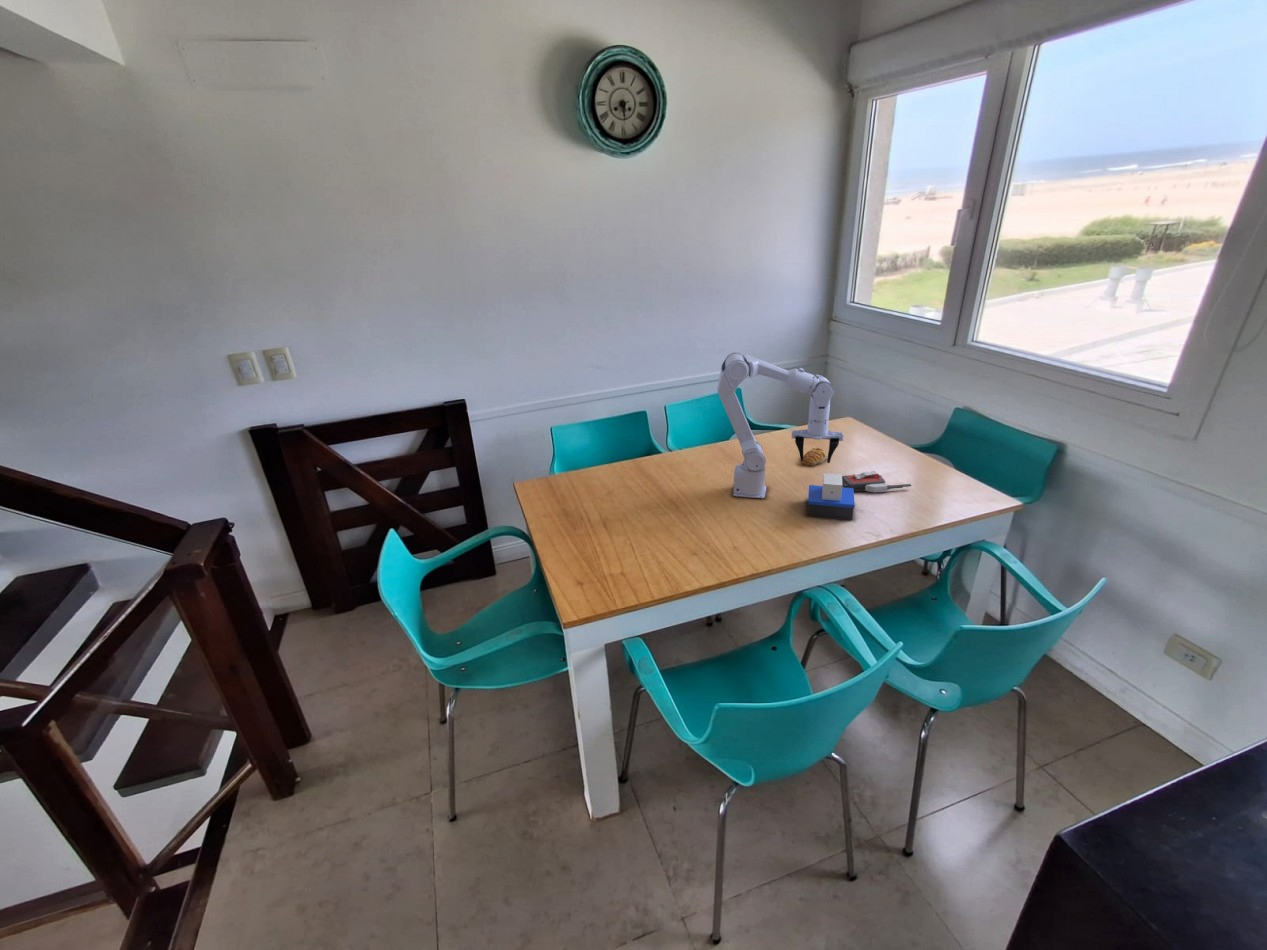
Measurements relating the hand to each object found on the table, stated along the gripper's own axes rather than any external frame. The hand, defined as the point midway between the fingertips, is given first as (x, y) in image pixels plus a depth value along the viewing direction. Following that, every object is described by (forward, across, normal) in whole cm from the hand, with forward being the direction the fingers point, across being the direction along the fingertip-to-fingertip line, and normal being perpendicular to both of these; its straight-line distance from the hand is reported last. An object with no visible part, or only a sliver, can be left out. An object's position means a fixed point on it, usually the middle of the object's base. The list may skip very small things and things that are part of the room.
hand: (815, 460), depth 169 cm
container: (+10, +5, -11) cm, 16 cm away
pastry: (+11, 0, +23) cm, 25 cm away
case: (+5, +5, -11) cm, 13 cm away
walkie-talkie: (+11, +18, +6) cm, 22 cm away
